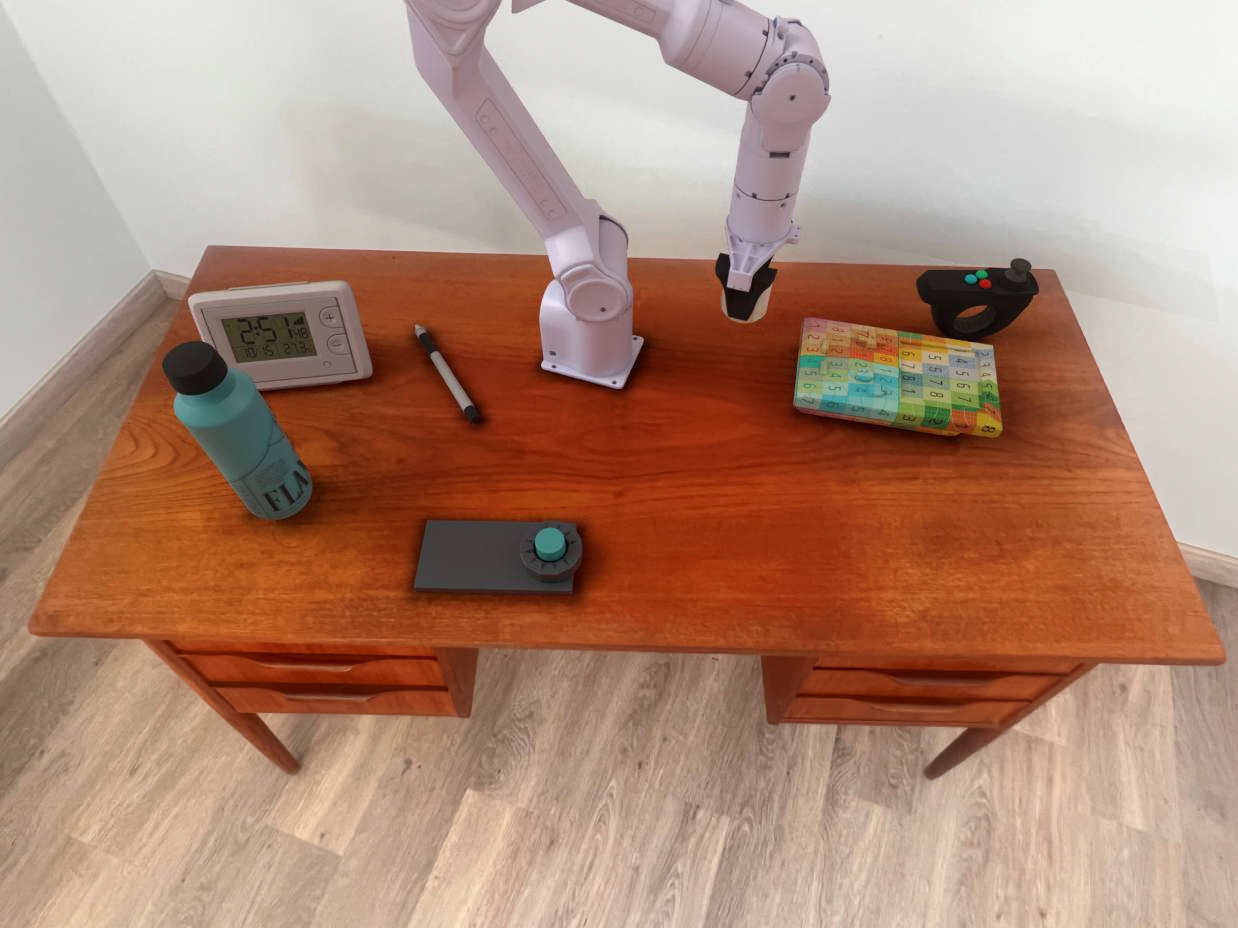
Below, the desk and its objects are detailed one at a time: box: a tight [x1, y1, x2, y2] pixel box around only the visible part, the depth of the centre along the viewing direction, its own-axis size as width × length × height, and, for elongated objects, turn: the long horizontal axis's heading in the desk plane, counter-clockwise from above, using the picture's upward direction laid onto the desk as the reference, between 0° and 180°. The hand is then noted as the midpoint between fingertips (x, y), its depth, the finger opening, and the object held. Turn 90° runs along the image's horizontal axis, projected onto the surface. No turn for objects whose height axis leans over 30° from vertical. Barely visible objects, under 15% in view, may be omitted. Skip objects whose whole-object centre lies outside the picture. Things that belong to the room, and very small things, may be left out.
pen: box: [414, 323, 480, 424], centre depth 81 cm, size 1×16×1 cm, turn 31°
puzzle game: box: [792, 317, 1004, 439], centre depth 77 cm, size 12×5×20 cm
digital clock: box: [187, 279, 374, 392], centre depth 77 cm, size 16×9×11 cm, turn 86°
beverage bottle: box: [161, 340, 314, 521], centre depth 63 cm, size 6×7×20 cm
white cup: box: [719, 282, 774, 324], centre depth 75 cm, size 5×5×4 cm
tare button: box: [535, 528, 566, 561], centre depth 65 cm, size 3×3×2 cm
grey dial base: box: [413, 519, 584, 596], centre depth 67 cm, size 15×7×2 cm, turn 89°
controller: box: [915, 257, 1040, 341], centre depth 81 cm, size 4×12×10 cm, turn 88°
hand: (744, 299), depth 76 cm, fingers closed on white cup, 5 cm apart
